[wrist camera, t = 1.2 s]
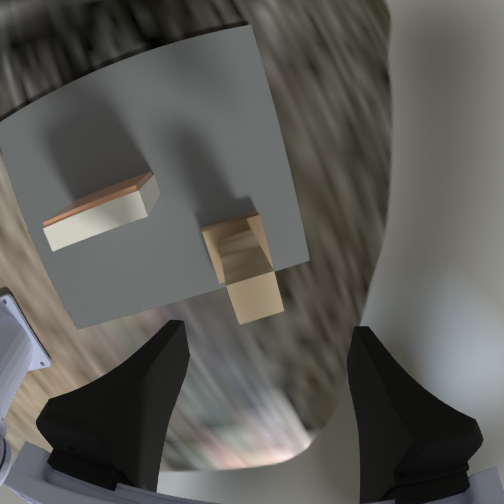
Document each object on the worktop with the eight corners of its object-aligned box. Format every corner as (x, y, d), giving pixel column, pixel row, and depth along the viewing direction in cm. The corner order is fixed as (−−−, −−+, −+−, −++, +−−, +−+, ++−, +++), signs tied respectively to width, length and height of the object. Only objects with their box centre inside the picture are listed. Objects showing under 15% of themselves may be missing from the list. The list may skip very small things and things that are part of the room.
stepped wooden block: (218, 276, 24) (229, 340, 17) (201, 227, 23) (205, 276, 15) (269, 260, 24) (301, 318, 17) (256, 210, 23) (286, 251, 15)
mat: (78, 326, 24) (77, 329, 24) (-2, 125, 17) (-5, 125, 17) (307, 257, 25) (309, 260, 25) (249, 26, 18) (250, 24, 18)
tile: (84, 221, 21) (52, 251, 15) (76, 199, 20) (40, 223, 15) (160, 193, 21) (147, 216, 16) (152, 170, 21) (136, 184, 15)
